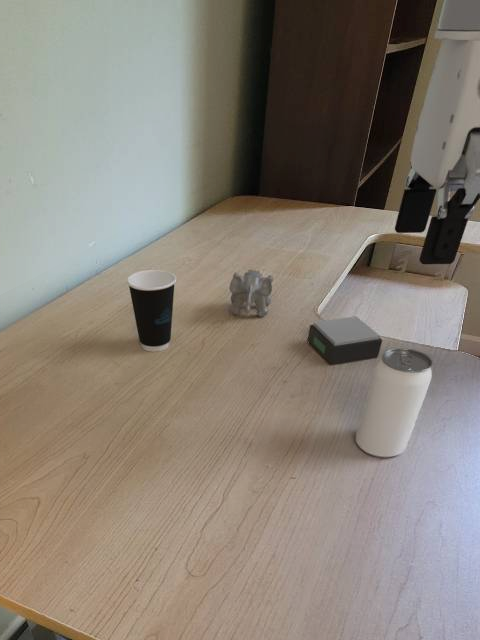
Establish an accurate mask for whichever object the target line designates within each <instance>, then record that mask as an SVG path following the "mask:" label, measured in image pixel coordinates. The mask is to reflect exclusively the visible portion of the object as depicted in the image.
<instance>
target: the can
mask: <svg viewBox="0 0 480 640" xmlns="http://www.w3.org/2000/svg"><path fill="white" fill-rule="evenodd" d="M432 367H433V359H432V357H430V356H429V355H428V354H427V353H424V352H422V351H421V350H416V349H412V348H406V347H405V348H403V347H399V348H392V349H391V348H390V349H389V350H386V351H384V352H383V354H382V355H381V359H380V360H379V361H378V363H377V364H376V365H375V368H374V371H373V373H372V376H371V380H370V384H369V388H368V392H367V396H366V399H365V403H364V406H363V409H362V412H361V417H360V420H359V424H358V427H357V432H356V436H355V442H356V444H357V446H358V447H359V449H360V450H361V451H362V452H364V453H366V454H368V455H370V456H372V457H375V458H384V459H389V458H394V457H398V456H399V455H401V454H403V453H404V452H405V451H406V449H407V447H408V445H409V441H410V439H411V436H412V434H413V431H414V429H415V425H416V423H417V420H418V417H419V415H420V412H421V409H422V406H423V404H424V400H425V398H426V395H427V393H428V389H429V386H430V383H431V380H432V378H433V371H432Z"/></svg>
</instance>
